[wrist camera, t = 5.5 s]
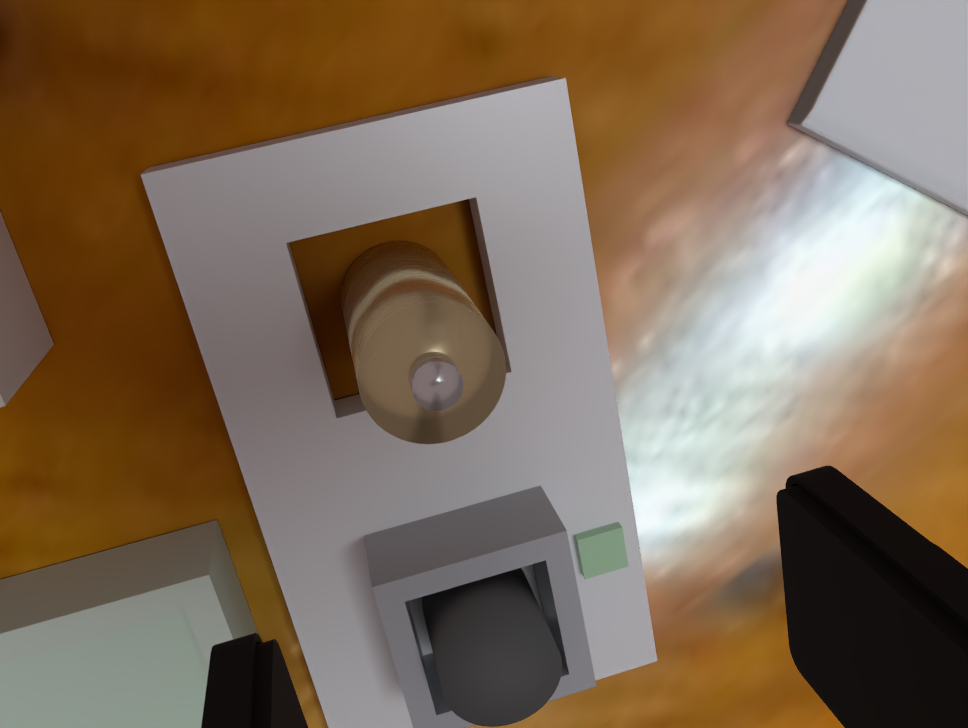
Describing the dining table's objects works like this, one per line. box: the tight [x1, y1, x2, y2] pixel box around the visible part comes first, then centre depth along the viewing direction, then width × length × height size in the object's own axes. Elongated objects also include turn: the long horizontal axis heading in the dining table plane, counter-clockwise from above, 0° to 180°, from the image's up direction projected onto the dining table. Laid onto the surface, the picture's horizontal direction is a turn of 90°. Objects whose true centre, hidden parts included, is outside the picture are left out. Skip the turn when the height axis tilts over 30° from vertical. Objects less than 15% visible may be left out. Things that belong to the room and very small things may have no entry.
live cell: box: [341, 241, 506, 444], centre depth 24 cm, size 4×4×8 cm
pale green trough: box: [0, 520, 259, 728], centre depth 29 cm, size 8×12×3 cm
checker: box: [141, 76, 657, 728], centre depth 28 cm, size 21×12×4 cm, turn 12°
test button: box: [422, 568, 562, 727], centre depth 28 cm, size 4×4×4 cm
